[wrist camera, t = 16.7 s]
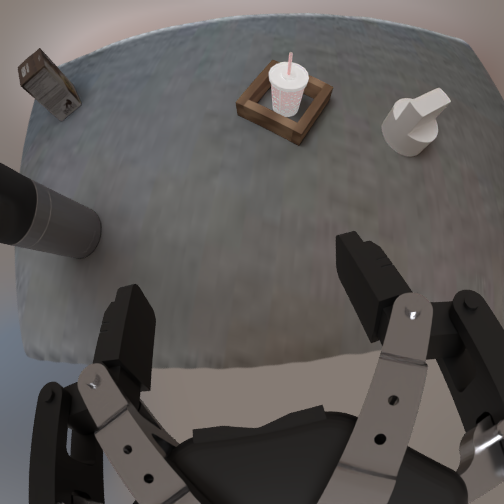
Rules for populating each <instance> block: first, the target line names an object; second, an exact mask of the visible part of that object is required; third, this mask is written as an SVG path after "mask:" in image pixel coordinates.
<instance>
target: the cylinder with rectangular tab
mask: <svg viewBox="0 0 504 504" xmlns="http://www.w3.org/2000/svg"><path fill="white" fill-rule="evenodd" d="M450 102H451V101H450V99H449V98H448V96H447V95H446V94H445V93H444V92H443V91H442V90H441V89H440V88H437V89H435V90H433V91H430V92H428V93H426V94H424V95H422V96H420V97H418V98H415V99H410V98H403V99H400V100H398V101H397V102H396V103H395V105H394V106H393V108H392V109H391V111H390V112H389V114H388V115H387V117H386V118H385V120H384V121H383V123H382V134H383V136H384V139H385V141H386V142H387V144H388V145H389V146H390V147H391V148H392V149H393V150H394V151H396V152H397V153H399V154H401V155H403V156H408V157H411V156H416V155H418V154H419V153H420V152H421V151H422V150H423V149H424V148H426V147H427V146H428V145H429V144H430V143H431V142H432V141H433V140H434V139H435V138H436V136H437V134H438V125H437V122H436V119H435V118H436V117H437V116H438V115H439V114H440V113H441V112H442V111H443V110H444V109H445V108H446V106H447V105H448V104H449V103H450Z"/></svg>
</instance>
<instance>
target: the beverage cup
mask: <svg viewBox="0 0 504 504" xmlns="http://www.w3.org/2000/svg"><path fill="white" fill-rule="evenodd" d="M292 55H293V53H292V52H290V53H289V61H288V62H281V63H278V64H276V65H274V66H273V67H271V69H270V71H269V81H270V83H271V90H272V103H273V110H274V111H275V112H276V113H278V114H280V115H282V116H284V117H290V116H293V115H295V114H296V113H297V111H298V109H299V105H300V102H301V98H302V95H303V92H304V88H305V87H306V85H307V83H308V80H309V76H308V72H307V71H306V70H305V68H304V67H302V66H300V65H299V64H296V63H292Z"/></svg>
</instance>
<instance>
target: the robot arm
mask: <svg viewBox="0 0 504 504" xmlns="http://www.w3.org/2000/svg"><path fill="white" fill-rule="evenodd" d="M100 234H101V224H100V220H99V218H98V215H97V214H96V213H95V212H94V211H93V210H92V209H90V208H88V207H86V206H84V205H82V204H80V203H78V202H76V201H74V200H71V199H69V198H67V197H65V196H63V195H61V194H59V193H57V192H55V191H53V190H51V189H49V188H47V187H45V186H43V185H41V184H39V183H37V182H35V181H33V180H31V179H29V178H27V177H25V176H23V175H21V174H20V173H18V172H16V171H14V170H13V169H11V168H9V167H7V166H5V165H4V164H2V163H0V243H3V244H8V245H12V246H17V247H22V248H27V249H32V250H37V251H42V252H47V253H52V254H57V255H62V256H67V257H73V258H84V257H86V256H88V255H89V254H91V253H92V252H93V251H94V249H95V248H96V246H97V244H98V242H99V239H100ZM336 268H337V273H338V276H339V279H340V281H341V283H342V285H343V287H344V289H345V291H346V293H347V295H348V297H349V299H350V301H351V303H352V305H353V307H354V309H355V311H356V313H357V315H358V317H359V319H360V321H361V323H362V325H363V327H364V330H365V332H366V334H367V336H368V338H369V340H370V342H371V343H373V342H376V341H379V340H380V342H381V344H382V346H383V347H382V351H381V354H380V357H379V360H378V364H377V367H376V370H375V373H374V376H373V379H372V382H371V385H370V388H369V391H368V394H367V396H366V399H365V402H364V404H363V407H362V410H361V412H360V415H359V417H356V416H353V415H350V414H347V413H342V412H325V411H324V408H323V405H320V406H316V407H312V408H309V409H305V410H301V411H297V412H293V413H290V414H288V415H286V416H283V417H281V418H279V419H277V420H275V421H273V422H271V423H268V424H266V425H264V426H262V427H259V428H243V427H230V426H219V427H211V428H203V429H194V430H193V437H192V438H190V439H188V440H186V441H184V442H182V443H181V444H179V443H178V442H177V441H176V440H175V439H173V437H171V436H170V435H169V434H168V433H167V432H166V431H165V429H164V428H163V427H162V426H161V425H160V423H159V422H158V421H157V420H156V419H155V417H154V416H153V414H152V413H151V412H150V410H149V409H148V408H147V407H146V405H145V404H144V403H143V401H142V400H141V399H140V392H142V391H150V387H151V371H152V358H153V346H154V335H155V326H156V318H155V314H154V311H153V309H152V307H151V305H150V304H149V302H148V300H147V299H146V297H145V296H144V294H143V292H142V291H141V289H140V287H139V286H138V285H137V284H133V285H129V286H124V287H120V288H119V289H118V291H117V294H116V298H115V302H111V304H110V305H109V307H108V308H107V310H106V311H105V313H104V317H103V321H102V325H101V329H100V333H99V337H98V342H97V346H96V351H95V355H94V360H93V364H91V365H89V366H87V367H86V368H85V369H84V370H83V371H82V372H81V374H80V376H79V378H78V382H76V383H74V384H71V385H69V386H67V387H65V388H63V387H62V386H61V385H59V384H58V383H56V382H49V383H47V384H46V385H45V386H44V387H43V388H42V389H41V391H40V393H39V396H38V402H37V407H36V414H35V420H34V427H33V435H32V443H31V454H30V469H29V504H105V501H104V483H103V451H104V453H105V454H106V456H107V458H108V459H109V461H110V463H111V464H112V466H113V467H114V469H115V470H116V472H117V474H118V475H119V477H120V478H121V479H122V481H123V482H124V484H125V485H126V487H127V488H128V490H129V491H130V492H131V494H132V495H133V497H134V498H135V499H136V500H135V501H134V503H133V504H469V503H471V502H472V501H474V500H475V499H477V498H479V497H480V496H482V495H484V494H485V493H487V492H488V491H490V490H491V489H493V488H495V487H496V486H497V485H499V484H500V483H502V482H503V481H504V330H503V328H502V326H501V325H500V323H499V321H498V320H497V318H496V317H495V315H494V314H493V312H492V310H491V309H490V307H489V306H488V304H487V303H486V301H485V300H484V299H483V297H482V296H481V295H480V294H478V293H477V292H475V291H472V290H462V291H459V292H458V293H457V294H456V295H455V296H454V299H453V301H450V302H430V301H429V300H428V299H427V298H426V297H424V296H423V295H421V294H418V293H413V292H412V291H411V289H410V288H409V286H408V285H407V283H406V282H405V280H404V279H403V278H402V276H401V275H400V273H399V272H398V271H397V269H396V268H395V266H394V265H392V262H391V261H390V259H389V258H387V255H386V254H385V253H384V251H383V250H382V249H381V247H379V246H378V245H376V244H375V243H373V242H372V241H366V242H363V241H362V239H361V238H360V236H359V235H358V234H357V232H355V231H352V232H348V233H344V234H340V235H337V236H336ZM427 359H436V361H437V363H438V365H439V367H440V369H441V371H442V374H443V376H444V379H445V381H446V383H447V385H448V388H449V390H450V392H451V395H452V397H453V400H454V402H455V405H456V408H457V410H458V413H459V415H460V418H461V421H462V423H463V426H464V429H465V431H466V433H465V434H464V436H463V437H462V440H461V442H460V448H459V449H460V450H459V451H460V465H459V467H458V469H457V471H456V472H455V471H454V470H452V469H450V468H448V467H446V466H444V465H442V464H440V463H438V462H436V461H434V460H432V459H431V458H428V457H427V456H425V455H423V454H421V453H419V452H417V451H416V450H414V449H412V448H410V447H408V443H409V440H410V436H411V433H412V430H413V426H414V423H415V420H416V416H417V413H418V409H419V405H420V401H421V397H422V393H423V389H424V384H425V380H426V375H427V367H428V366H427V364H426V363H425V361H426V360H427ZM68 428H70V429H72V437H71V455H70V456H69V455H68V453H67V449H66V442H67V430H68Z"/></svg>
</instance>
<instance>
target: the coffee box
mask: <svg viewBox="0 0 504 504" xmlns="http://www.w3.org/2000/svg"><path fill="white" fill-rule="evenodd" d="M18 73H19V79H20V85H21V87H23V89H25V90H26V91H27V92H28V93H29V94H30V95H31V96H32V97H34V98H35V99H36V100H37V101H38V102H39V103H40V104H42V105H43V106H44V107H45V108H46V109H47V110H48V111H50V112H51V113H52V114H53V115H54V116H55V117H56V118H58V119H59V120H60V121H63V120H64V119H65V118H66V117H67V116H68V115H70V114H71V113H72V112H73V111H74V110H76V109H77V108H78V107H79V106H80V105H81V104H82V103H81V101H80V99H79V97H78V94H77V92H76V90H75V88H74V85H73V84H72V83H71V82H70V81H69V80H68V78H67V77H66V76H65V75H64V74H63V73H62V72H61V71H60V70H59V69H58V67H57V66H56V65H55V64H54V63H53V62H52V61H51V60H50V59H49V58H48V56H47V55H46V54H45V53H44V52H43V51H42V50H41V49H40V48H39V49H38V50H37V51H36V52H35V53H33V54H32V55H31V56H29V57H28V58H27V59H26V60H25V61H24V62H23V63H22V64H21V65H20V66H19V67H18Z"/></svg>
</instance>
